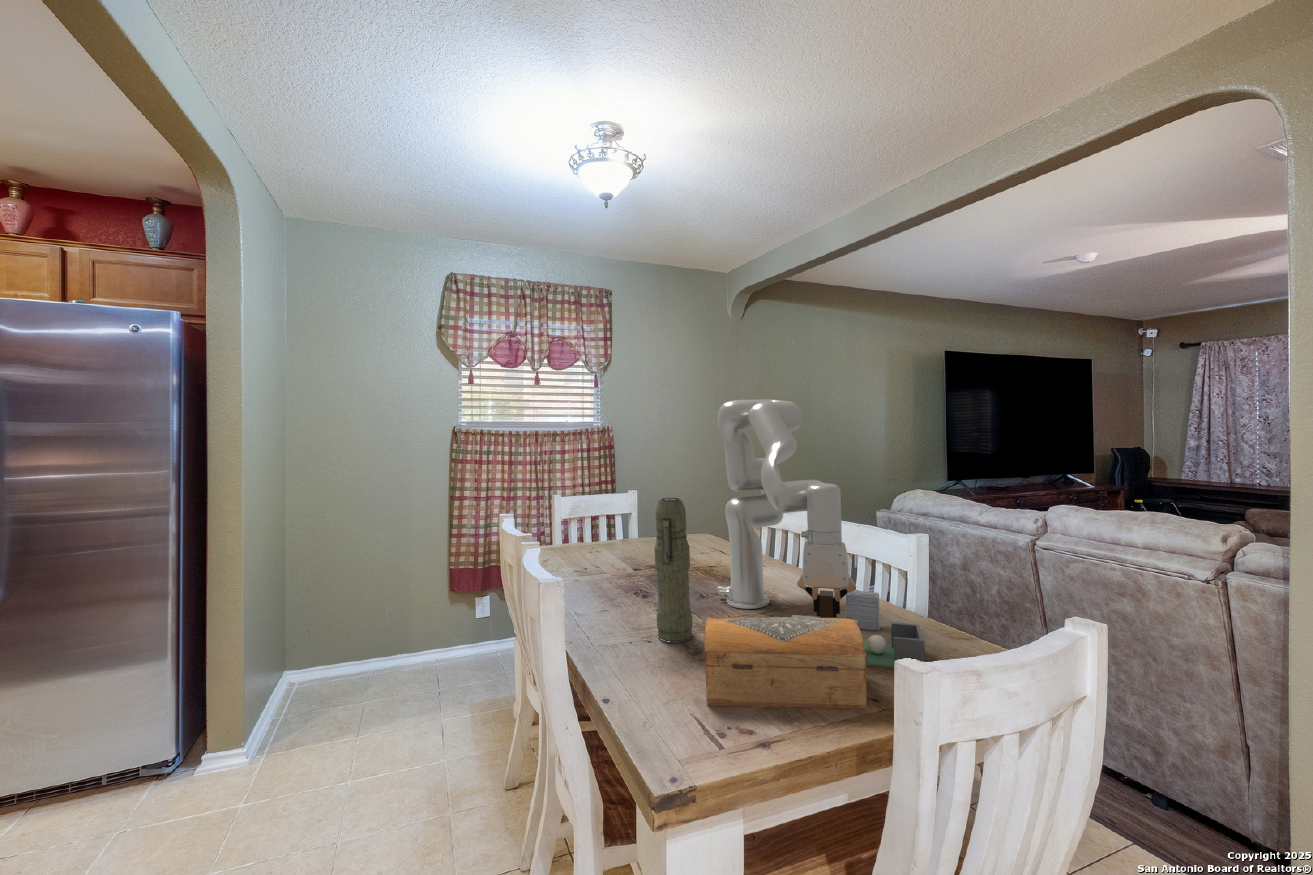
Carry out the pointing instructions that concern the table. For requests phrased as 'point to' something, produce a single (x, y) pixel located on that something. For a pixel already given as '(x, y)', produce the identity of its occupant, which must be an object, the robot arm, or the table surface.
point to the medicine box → (864, 609)
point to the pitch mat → (880, 656)
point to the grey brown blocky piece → (824, 605)
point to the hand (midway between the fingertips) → (826, 614)
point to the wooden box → (785, 662)
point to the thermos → (672, 571)
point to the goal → (907, 641)
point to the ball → (877, 644)
